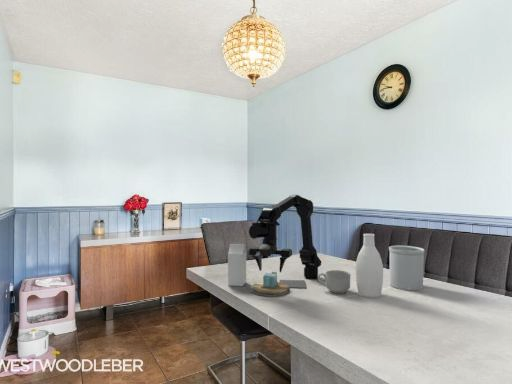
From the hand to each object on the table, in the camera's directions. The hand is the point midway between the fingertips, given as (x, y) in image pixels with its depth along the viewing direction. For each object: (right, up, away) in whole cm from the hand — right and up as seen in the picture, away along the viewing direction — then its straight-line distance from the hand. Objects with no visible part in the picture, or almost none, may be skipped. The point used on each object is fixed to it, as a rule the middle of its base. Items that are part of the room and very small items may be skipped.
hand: (270, 271), depth 143 cm
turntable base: (0, -8, 0) cm, 8 cm away
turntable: (0, -8, 0) cm, 8 cm away
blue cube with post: (0, -7, -1) cm, 7 cm away
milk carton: (-15, -9, +10) cm, 20 cm away
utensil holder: (+63, -8, +5) cm, 63 cm away
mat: (+11, -8, +9) cm, 16 cm away
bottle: (+42, -8, -7) cm, 43 cm away
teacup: (+28, -8, -1) cm, 29 cm away
